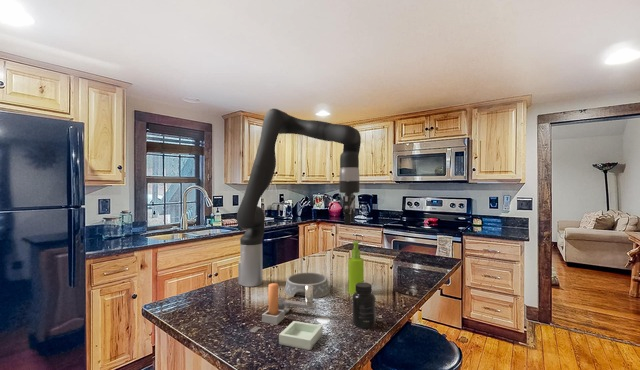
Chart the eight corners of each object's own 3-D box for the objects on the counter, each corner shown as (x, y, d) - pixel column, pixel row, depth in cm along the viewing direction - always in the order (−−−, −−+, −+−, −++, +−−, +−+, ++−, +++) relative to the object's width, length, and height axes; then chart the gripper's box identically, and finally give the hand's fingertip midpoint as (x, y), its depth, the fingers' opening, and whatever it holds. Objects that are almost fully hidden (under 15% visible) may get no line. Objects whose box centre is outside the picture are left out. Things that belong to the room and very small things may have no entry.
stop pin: (266, 321, 96) (266, 285, 96) (271, 317, 99) (271, 282, 99) (275, 322, 95) (275, 286, 95) (280, 318, 98) (279, 283, 98)
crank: (270, 308, 103) (270, 283, 103) (276, 304, 107) (276, 279, 107) (312, 314, 98) (312, 288, 98) (317, 310, 102) (316, 284, 102)
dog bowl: (325, 300, 114) (325, 286, 114) (278, 297, 118) (278, 283, 118) (333, 286, 131) (333, 273, 131) (291, 283, 135) (291, 271, 135)
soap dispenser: (366, 290, 124) (365, 240, 124) (361, 295, 118) (360, 243, 118) (352, 288, 127) (352, 239, 127) (346, 293, 121) (346, 242, 121)
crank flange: (241, 329, 91) (241, 326, 91) (274, 305, 109) (274, 302, 109) (262, 333, 88) (262, 330, 88) (292, 308, 106) (292, 305, 106)
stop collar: (261, 322, 96) (261, 314, 96) (270, 315, 101) (270, 308, 101) (276, 324, 94) (276, 317, 94) (284, 317, 99) (284, 310, 99)
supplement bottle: (350, 319, 97) (350, 281, 97) (372, 318, 98) (371, 280, 98) (355, 329, 90) (354, 288, 90) (378, 328, 91) (377, 287, 91)
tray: (278, 344, 82) (278, 334, 82) (293, 329, 91) (293, 320, 91) (310, 350, 79) (310, 340, 79) (322, 334, 88) (322, 325, 88)
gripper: (342, 180, 125) (342, 220, 125) (335, 179, 111) (335, 225, 111) (361, 180, 123) (361, 221, 123) (356, 179, 109) (356, 225, 109)
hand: (349, 223), depth 117 cm, fingers open, 8 cm apart
